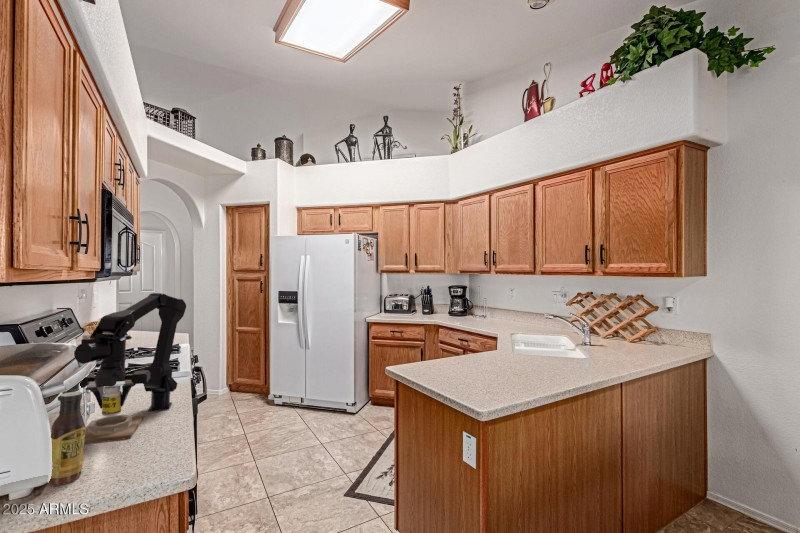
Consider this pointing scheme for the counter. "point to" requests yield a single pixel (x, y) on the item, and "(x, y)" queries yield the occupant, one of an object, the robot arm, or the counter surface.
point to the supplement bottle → (111, 400)
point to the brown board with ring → (112, 428)
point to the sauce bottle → (68, 440)
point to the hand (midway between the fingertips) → (111, 407)
